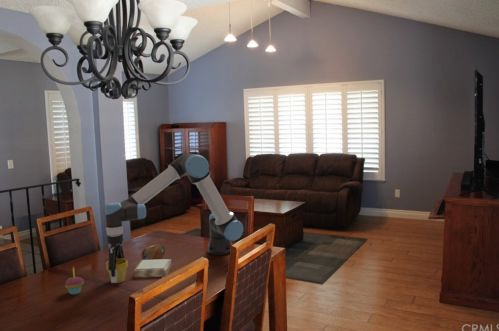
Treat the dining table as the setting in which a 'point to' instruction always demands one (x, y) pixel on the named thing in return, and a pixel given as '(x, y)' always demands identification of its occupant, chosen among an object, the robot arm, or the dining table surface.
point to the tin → (153, 252)
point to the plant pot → (119, 269)
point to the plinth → (153, 268)
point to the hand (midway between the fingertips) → (117, 278)
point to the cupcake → (74, 284)
